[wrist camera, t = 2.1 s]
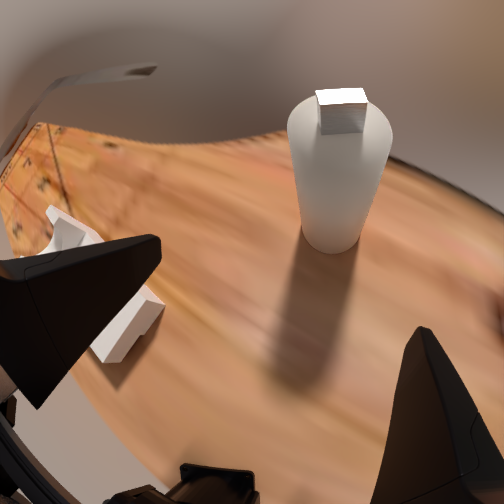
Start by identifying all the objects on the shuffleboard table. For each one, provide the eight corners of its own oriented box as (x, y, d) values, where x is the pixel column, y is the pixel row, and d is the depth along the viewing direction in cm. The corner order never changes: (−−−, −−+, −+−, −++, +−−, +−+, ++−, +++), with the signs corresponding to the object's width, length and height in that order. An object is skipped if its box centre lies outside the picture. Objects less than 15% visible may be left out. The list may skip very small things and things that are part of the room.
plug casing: (304, 257, 23) (288, 146, 10) (298, 201, 24) (275, 68, 11) (365, 251, 22) (417, 138, 9) (355, 195, 23) (378, 62, 10)
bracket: (65, 280, 28) (16, 263, 21) (96, 231, 29) (50, 204, 22) (126, 362, 23) (69, 363, 16) (167, 305, 24) (115, 290, 17)
